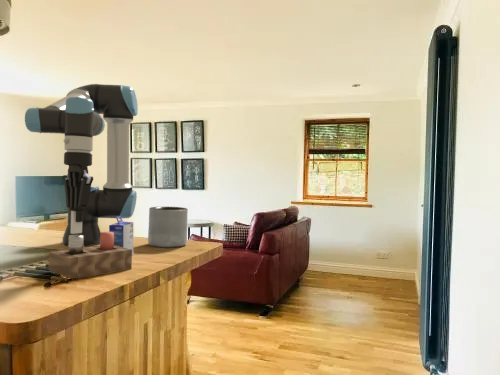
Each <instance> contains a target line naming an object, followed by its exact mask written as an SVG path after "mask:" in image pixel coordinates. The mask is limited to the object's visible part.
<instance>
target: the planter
mask: <svg viewBox="0 0 500 375" xmlns="http://www.w3.org/2000/svg"><path fill="white" fill-rule="evenodd" d="M148 212H149V213H148V233H147V234H148V235H147V243H148V244H149V245H150V246H151V247H155V248H162V249H163V248H164V249H165V248H170V249H171V248H180V247H184V246H185V245H186V244H187V243H188V208H186V207H181V206H151V207H149V210H148Z"/></svg>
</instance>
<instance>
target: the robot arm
mask: <svg viewBox="0 0 500 375" xmlns="http://www.w3.org/2000/svg"><path fill="white" fill-rule="evenodd" d="M138 106H139V105H138V100H137V94H136V91H135V90H134V88H133V87H132V86H129V85H123V84H121V85H119V84H99V83H91V84H86V85H82V86H79V87H76V88H73V89H71V90H70V91H68V92H67V94H66V96H64V97H62V98H61V99H59V100H57V101H54V102H53V103H51V104H49V105H47V106H45V107H42V108H41V107H29V108H27V110H26V111H25V114H24V124H25V127H26V129H27V130H28V131H29V132H31V133H39V134H64V139H63V142H64V148H63V149H64V150H65V152H64V153H63V164H64V165H66V166H68V169H67V174H66V175H63V176H62V180H63V182H64V183H63V184H64V192H65V202H66V203H65V204H66V208H67V225H66V228H65V230H64V233H63V236H62V240H61V241H62V242H61V243H62V244H63V245H66V246H69V235H84V246H83V247H85V246H86V247H88V246H94V245H95V246H97V245H100V233H101V232H102V231H101V230H100V226H99V219H116V217H118V216H120V217H121V219H122V220H123V219H130V218H131V217H133V215H134V212H135V208H136V205H137V198H138V196H137V191H136V190H134V189H133V185H132V184H131V183H130V176H129V175H130V124H131V123H132V122H133V121H134V117H136V116H137V115H138V110H139V108H138ZM101 115H102V116H101ZM105 122H106V124H105ZM105 126H106V142H107V143H106V182H105V184H104V185H102V189H100V187H99V186H95V185H94V186H92V184H93V181H94V176H90V174H89V169H88V167H91V166H92V165H93V154H92V153H91V152H92V151H93V145H94V144H93V141H94V140H93V137H96V136H99V135H101V134H102V133H103V131H104V129H105ZM121 219H120V218H118V220H121Z"/></svg>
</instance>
